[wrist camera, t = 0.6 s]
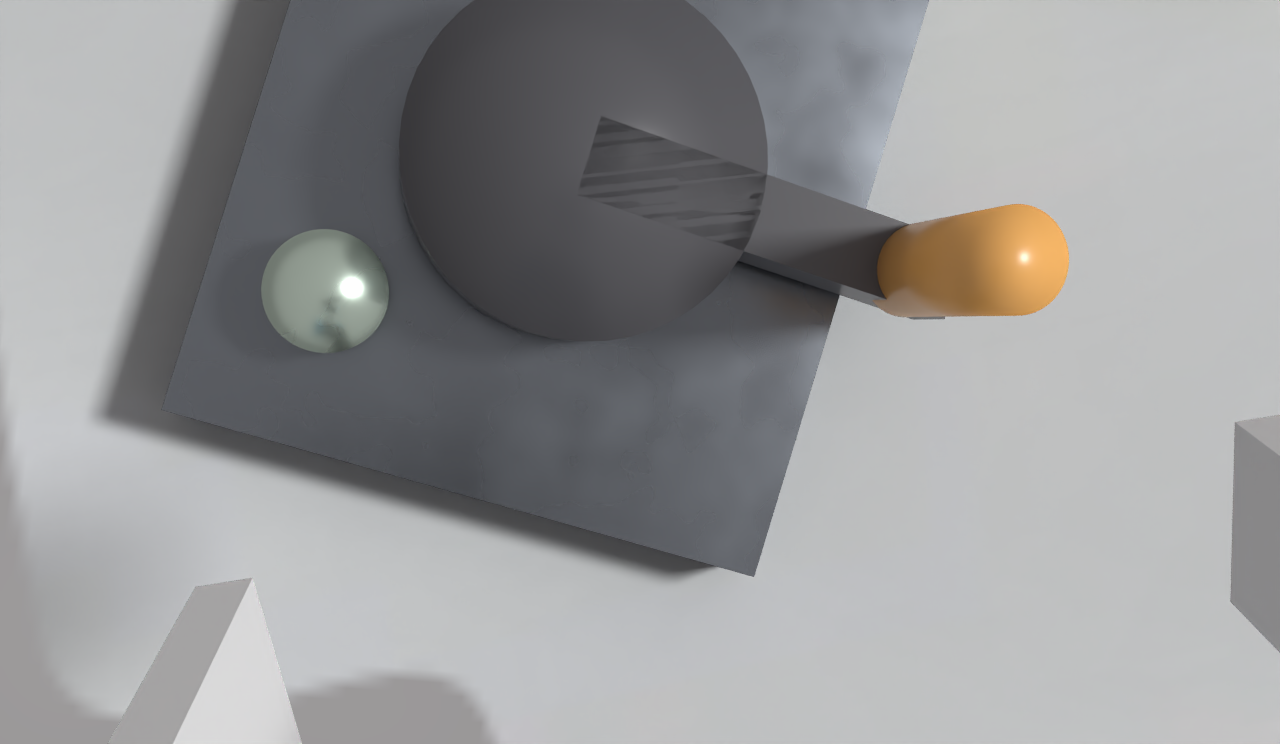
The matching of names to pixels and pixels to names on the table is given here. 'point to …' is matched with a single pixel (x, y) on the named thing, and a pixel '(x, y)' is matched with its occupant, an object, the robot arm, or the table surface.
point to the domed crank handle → (656, 183)
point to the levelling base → (498, 354)
